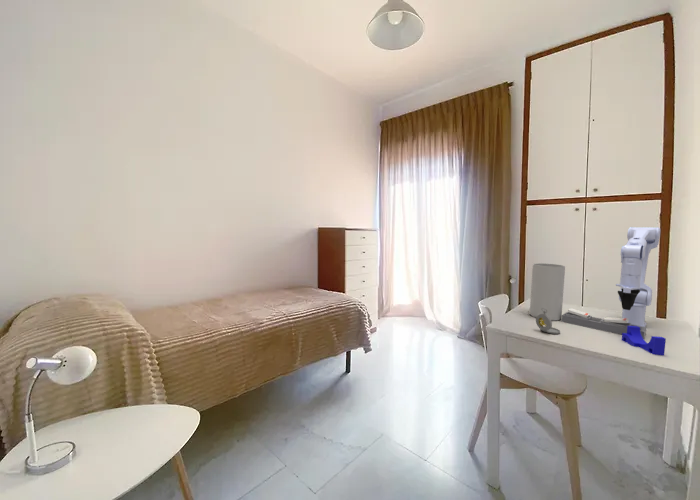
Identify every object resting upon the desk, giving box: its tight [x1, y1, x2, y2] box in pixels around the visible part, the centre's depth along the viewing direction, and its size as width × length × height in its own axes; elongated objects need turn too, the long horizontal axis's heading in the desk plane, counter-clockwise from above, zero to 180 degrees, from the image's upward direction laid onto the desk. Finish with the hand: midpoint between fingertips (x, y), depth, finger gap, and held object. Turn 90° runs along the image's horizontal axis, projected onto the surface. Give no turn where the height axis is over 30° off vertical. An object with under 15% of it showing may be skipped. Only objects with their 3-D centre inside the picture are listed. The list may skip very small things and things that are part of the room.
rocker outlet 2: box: [604, 316, 629, 324], centre depth 117 cm, size 4×7×2 cm, turn 40°
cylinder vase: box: [529, 262, 566, 322], centre depth 134 cm, size 12×12×25 cm
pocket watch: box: [535, 308, 561, 335], centre depth 115 cm, size 8×8×10 cm
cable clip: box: [621, 326, 667, 356], centre depth 101 cm, size 12×4×6 cm, turn 169°
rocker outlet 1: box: [567, 307, 591, 318], centre depth 126 cm, size 4×7×2 cm, turn 40°
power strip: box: [561, 311, 647, 340], centre depth 121 cm, size 8×26×4 cm, turn 40°
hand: (627, 307), depth 114 cm, fingers open, 7 cm apart
